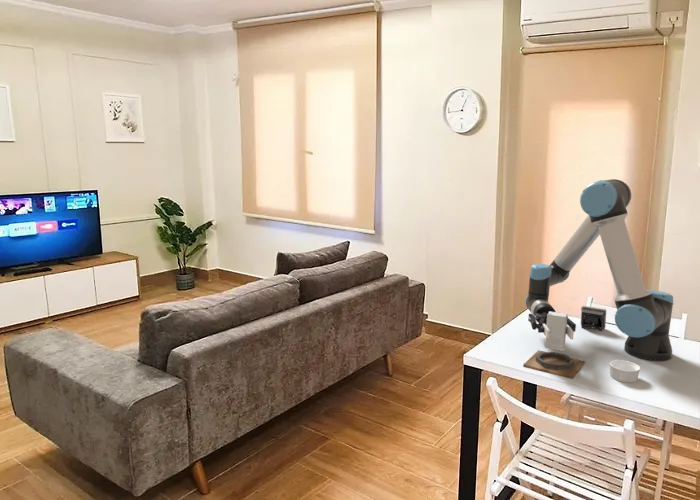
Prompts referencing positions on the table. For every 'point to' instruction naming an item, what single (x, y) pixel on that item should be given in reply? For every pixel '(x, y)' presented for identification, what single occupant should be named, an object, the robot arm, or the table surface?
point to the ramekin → (624, 371)
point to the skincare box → (556, 330)
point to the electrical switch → (593, 318)
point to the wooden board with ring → (554, 363)
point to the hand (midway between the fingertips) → (560, 334)
